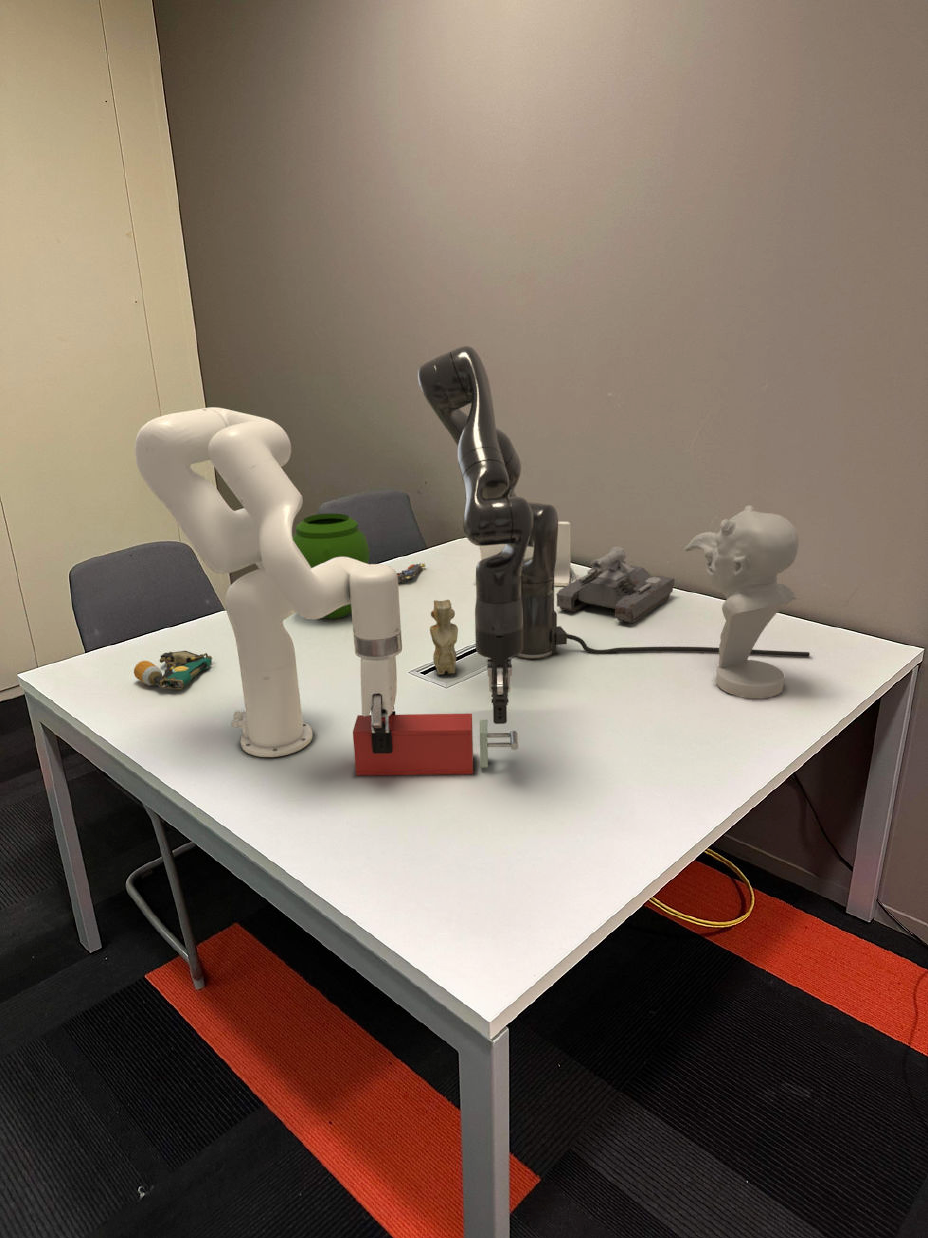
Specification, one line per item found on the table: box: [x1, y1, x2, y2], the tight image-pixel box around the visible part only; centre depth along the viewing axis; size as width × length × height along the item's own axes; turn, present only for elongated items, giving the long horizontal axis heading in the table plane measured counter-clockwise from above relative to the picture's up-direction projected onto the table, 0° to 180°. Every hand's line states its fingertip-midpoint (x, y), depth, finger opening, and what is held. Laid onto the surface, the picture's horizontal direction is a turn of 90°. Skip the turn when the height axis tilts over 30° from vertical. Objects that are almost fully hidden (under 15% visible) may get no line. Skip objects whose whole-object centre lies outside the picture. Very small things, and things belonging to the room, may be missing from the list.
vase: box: [292, 512, 370, 620], centre depth 209 cm, size 20×20×24 cm
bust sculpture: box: [684, 505, 799, 699], centre depth 167 cm, size 16×24×35 cm
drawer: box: [472, 719, 519, 768], centre depth 142 cm, size 23×5×6 cm, turn 89°
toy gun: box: [396, 562, 426, 583], centre depth 240 cm, size 3×19×10 cm
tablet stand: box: [479, 521, 572, 587], centre depth 236 cm, size 18×25×17 cm
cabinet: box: [352, 713, 474, 776], centre depth 142 cm, size 19×6×8 cm, turn 89°
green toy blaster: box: [133, 650, 213, 690], centre depth 180 cm, size 4×17×15 cm
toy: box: [556, 546, 676, 624], centre depth 212 cm, size 25×20×15 cm
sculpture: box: [429, 599, 459, 675], centre depth 177 cm, size 6×7×15 cm
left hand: (384, 741), depth 142 cm, fingers closed on cabinet, 5 cm apart
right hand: (500, 721), depth 140 cm, fingers closed
